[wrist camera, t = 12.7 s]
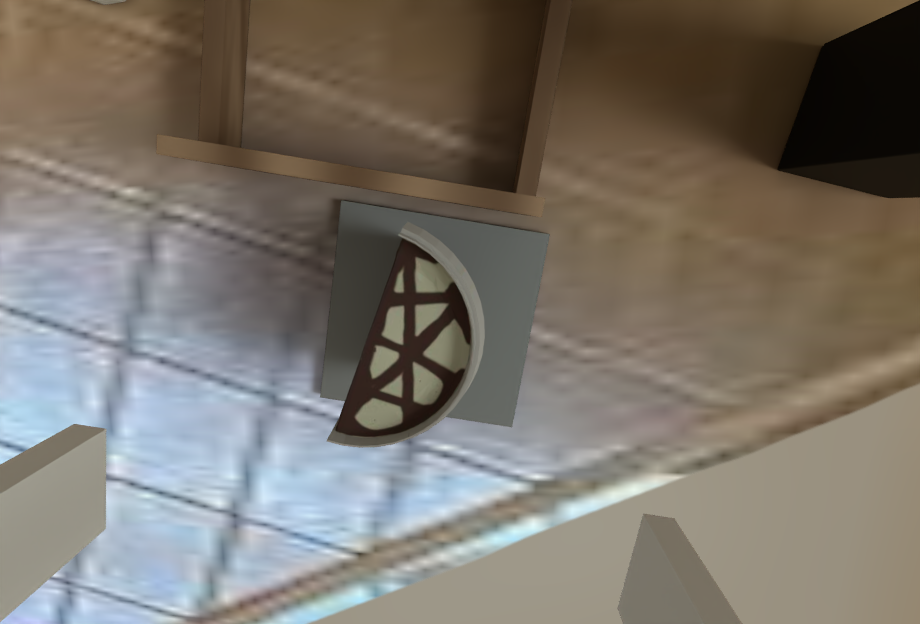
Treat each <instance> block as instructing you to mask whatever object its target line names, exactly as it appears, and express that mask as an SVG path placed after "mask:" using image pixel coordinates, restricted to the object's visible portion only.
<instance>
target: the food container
mask: <svg viewBox="0 0 920 624" xmlns="http://www.w3.org/2000/svg"><path fill="white" fill-rule="evenodd" d="M398 236H400V237H402V240H401V242H400V245H399V248H398V250H397V252H396V257H395V261H394V264H393V267H392V269H391V272H390V275H389V278H388V281H387V283H386V286H385V289H384V292H383V295H382V298H381V301H380V303H379V306H378V309H377V312H376V315H375V317H374V320H373V323H372V326H371V328H370V331H369V334H368V337H367V339H366V342H365V345H364V348H363V351H362V354H361V357H360V360H359V363H358V366H357V369H356V372H355V374H354V377H353V380H352V383H351V386H350V388H349V391H348V394H347V397H346V400H345V403H344V406H343V409H342V411H341V414H340V417H339V419H338V421H337V423H336V425H335V427H334V428H333V430H332V432H331V434H330V435H329V437H328V439H327V441H328V442H331V443H335V444H339V445H344V446H352V447H379V446H385V445H391V444H395V443H398V442H401V441H404V440H407V439H410V438H413V437H415V436H417V435H419V434H421V433H423V432H425V431H427V430H429V429H430V428H432V427H433V426H434V425H436V424H437V423H439V422H440V421H441V420H443V419H444V418H445V417H446V416H447V415H448V414H449V413H450V412H451V411H452V410H453V409H454V408H455V406H456V405H457V403H458V402H459V401H460V399H461V398H462V397H463V395H464V394H465V392H466V391H467V390H468V388H469V387H470V385H471V383H472V381H473V379H474V377H475V375H476V373H477V371H478V367H479V364H480V361H481V358H482V354H483V346H484V339H485V329H484V316H483V310H482V305H481V301H480V298H479V295H478V293H477V290H476V287H475V284H474V283H473V281H472V279H471V277H470V276H469V274H468V272H467V270H466V268H465V267H464V266H463V264H462V263H461V262H460V261H459V259H458V258H457V257H456V256H455V254H454V253H453V252H452V251H451V250H450V249H449V248H448V247H446V246H445V245H444V244H443V243H442V242H441V241H440V240H439V239H437V238H436V237H434V236H433V235H431V234H430V233H428V232H427V231H425V230H424V229H422V228H420V227H418V226H416V225H413V224H411V223H409V222H407V223H406V224H405V225H404V227H403V228H402V230H401V233H399V234H398Z"/></svg>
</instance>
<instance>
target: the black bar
mask: <svg viewBox="0 0 920 624" xmlns="http://www.w3.org/2000/svg"><path fill="white" fill-rule="evenodd" d="M778 170H779V171H783V172H787V173H791V174H795V175H799V176H803V177H807V178H811V179H815V180H819V181H823V182H827V183H830V184H834V185H838V186H842V187H846V188H850V189H854V190H858V191H862V192H866V193H870V194H874V195H878V196H882V197H886V198H913V197H920V0H919V1H917V2H915V3H913V4H911V5H908V6H906V7H904V8H902V9H900V10H897V11H895V12H893V13H891V14H889V15H887V16H884V17H882V18H880V19H878V20H876V21H873V22H871V23H869V24H867V25H865V26H863V27H860V28H858V29H856V30H854V31H852V32H849V33H847V34H845V35H843V36H841V37H839V38H836V39H834V40H832V41H830V42H828V43H825V44H824V46H822V48H821V51H820V54H819V57H818V59H817V62H816V65H815V68H814V70H813V73H812V76H811V79H810V81H809V84H808V87H807V90H806V93H805V95H804V98H803V101H802V104H801V106H800V109H799V112H798V115H797V117H796V120H795V123H794V126H793V128H792V131H791V134H790V137H789V140H788V142H787V145H786V148H785V151H784V153H783V156H782V159H781V162H780V164H779V167H778Z"/></svg>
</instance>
